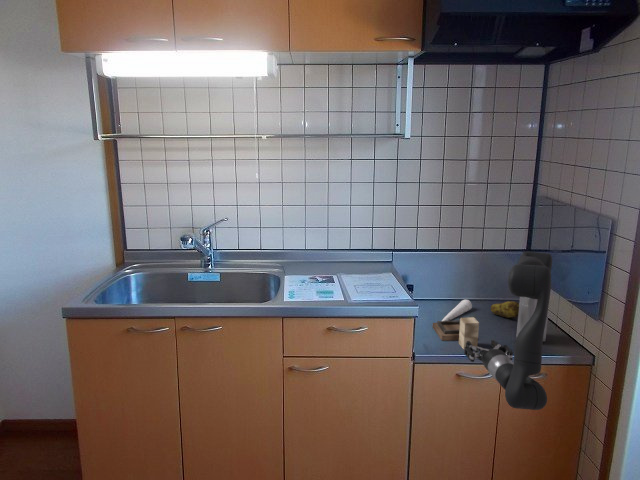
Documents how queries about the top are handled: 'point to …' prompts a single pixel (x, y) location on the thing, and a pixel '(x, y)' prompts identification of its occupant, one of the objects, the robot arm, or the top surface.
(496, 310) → the potato
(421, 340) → the top surface
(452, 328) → the walnut base
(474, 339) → the maple pillar
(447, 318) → the unicorn horn
